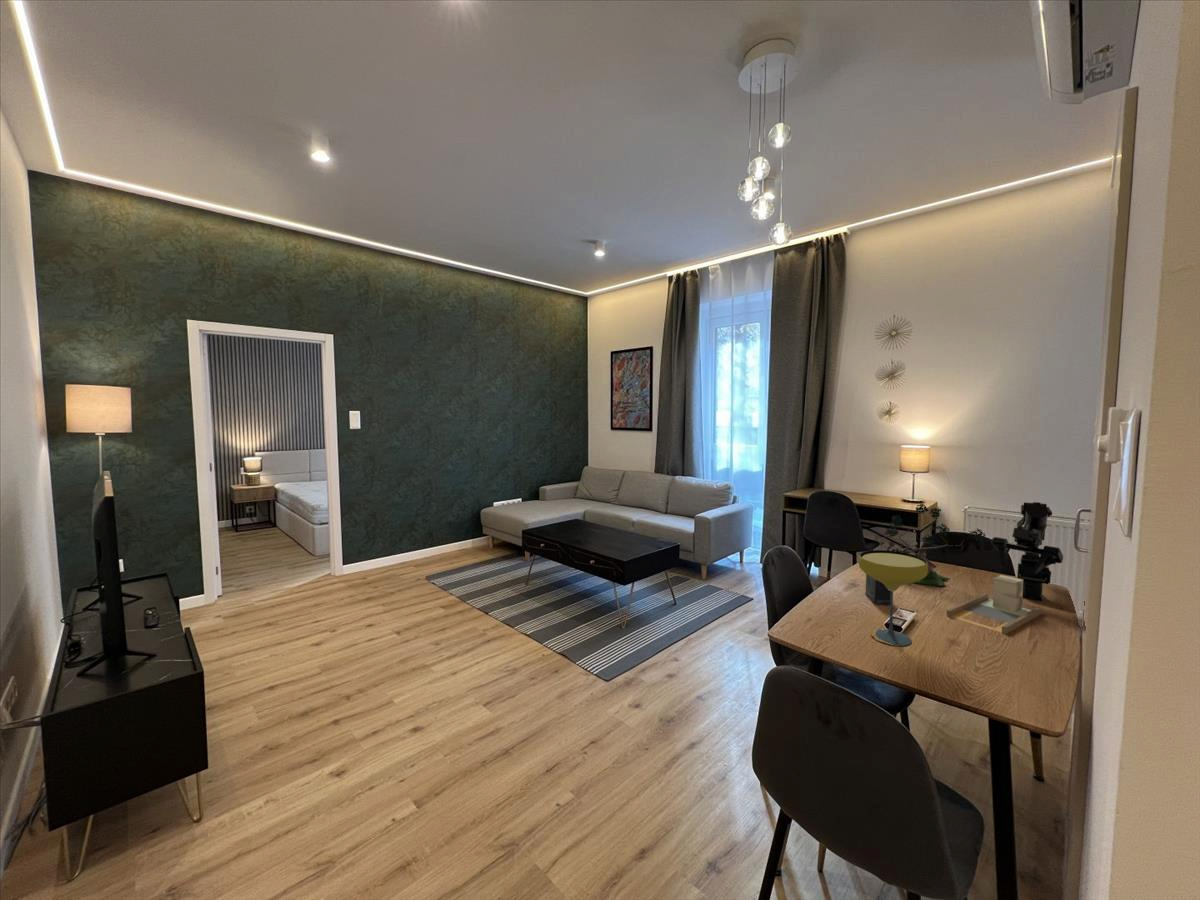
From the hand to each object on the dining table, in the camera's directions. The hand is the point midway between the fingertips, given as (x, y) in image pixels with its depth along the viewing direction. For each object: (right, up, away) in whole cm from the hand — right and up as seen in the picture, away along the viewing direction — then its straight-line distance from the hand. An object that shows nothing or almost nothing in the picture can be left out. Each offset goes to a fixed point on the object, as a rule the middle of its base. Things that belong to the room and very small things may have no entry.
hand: (1017, 569), depth 169 cm
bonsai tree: (-13, -12, +27) cm, 32 cm away
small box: (-42, -14, +11) cm, 45 cm away
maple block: (-6, -12, -3) cm, 14 cm away
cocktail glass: (-55, -17, -19) cm, 61 cm away
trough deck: (-14, -15, -8) cm, 22 cm away
